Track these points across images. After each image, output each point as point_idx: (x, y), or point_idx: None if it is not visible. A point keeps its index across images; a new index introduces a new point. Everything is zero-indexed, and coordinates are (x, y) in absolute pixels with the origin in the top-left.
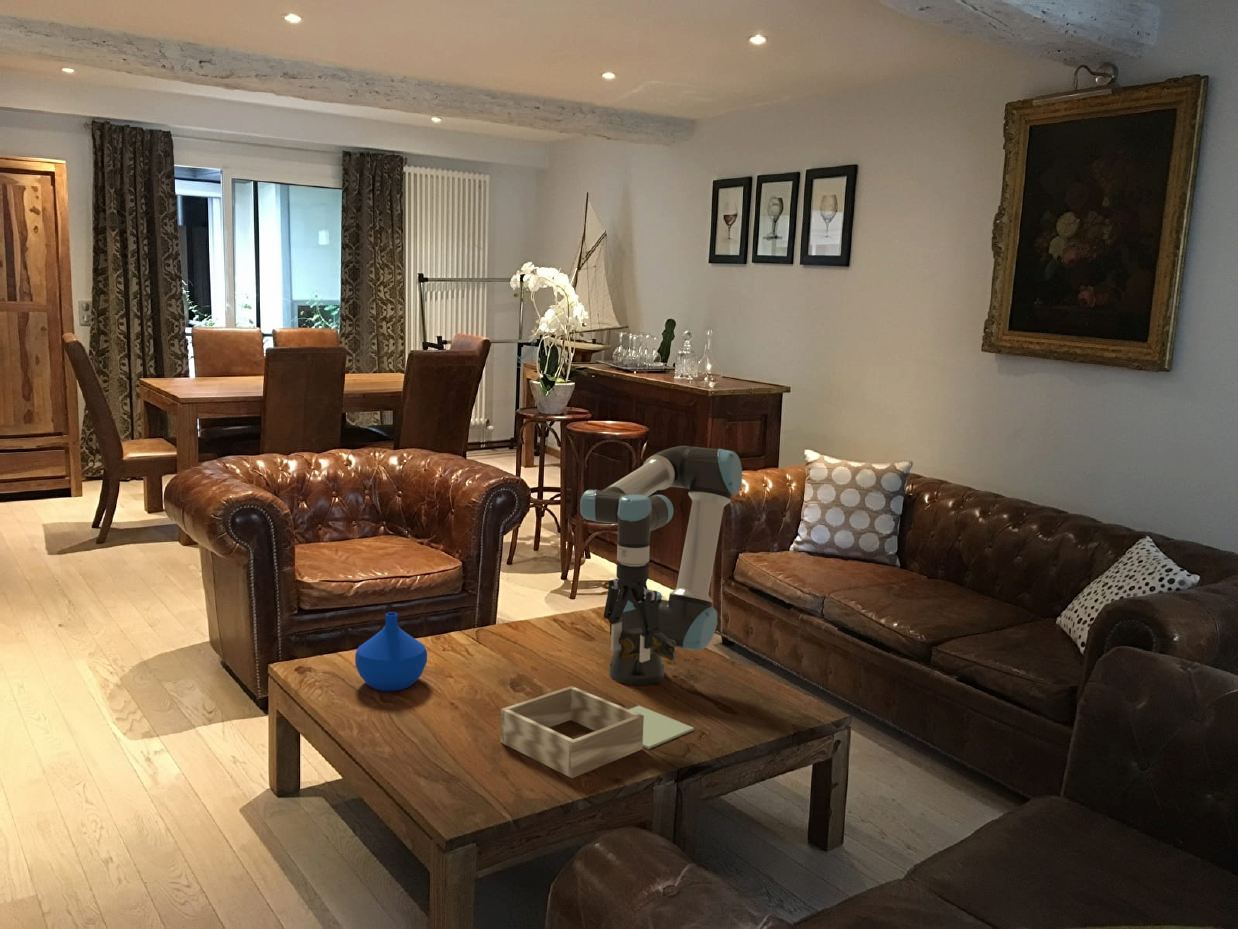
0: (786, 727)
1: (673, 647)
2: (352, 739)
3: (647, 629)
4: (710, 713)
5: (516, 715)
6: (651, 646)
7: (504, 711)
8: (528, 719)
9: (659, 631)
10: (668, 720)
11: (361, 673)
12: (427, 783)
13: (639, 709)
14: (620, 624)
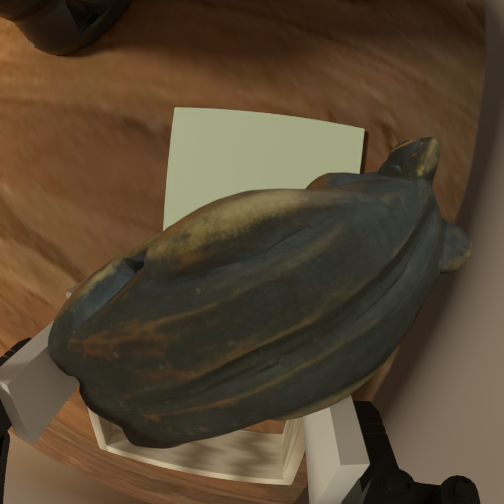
0: (471, 21)
1: (470, 253)
2: (44, 452)
3: (232, 347)
4: (331, 24)
5: (135, 458)
6: (373, 411)
7: (108, 450)
8: (161, 463)
9: (472, 486)
10: (290, 130)
11: None
12: (168, 497)
13: (190, 125)
14: (17, 392)
